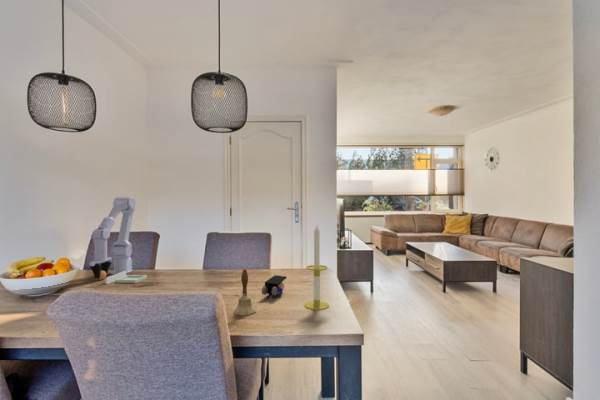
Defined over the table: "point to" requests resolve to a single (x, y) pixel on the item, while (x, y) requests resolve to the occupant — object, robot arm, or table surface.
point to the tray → (131, 279)
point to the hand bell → (244, 299)
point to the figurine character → (273, 286)
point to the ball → (102, 275)
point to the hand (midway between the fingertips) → (100, 277)
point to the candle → (316, 277)
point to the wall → (115, 277)
